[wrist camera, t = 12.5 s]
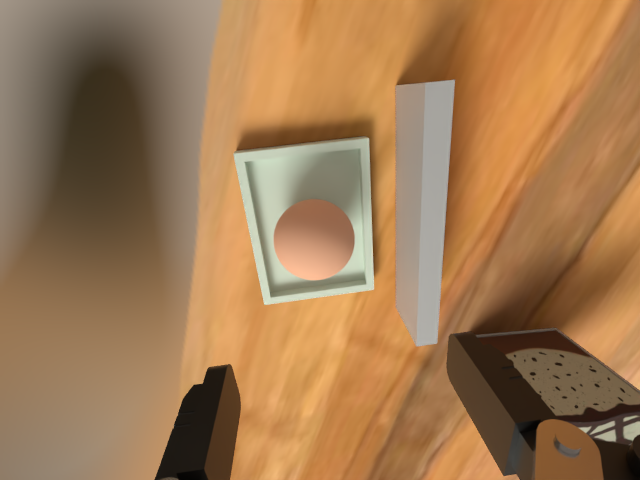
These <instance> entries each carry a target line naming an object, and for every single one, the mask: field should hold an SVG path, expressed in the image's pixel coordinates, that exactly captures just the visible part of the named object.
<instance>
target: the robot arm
mask: <svg viewBox="0 0 640 480" xmlns="http://www.w3.org/2000/svg"><path fill="white" fill-rule="evenodd" d="M447 373H448V376H449V379H450V382H451V384H452V385H453V387H454V389H455V391H456V393H457V394H458V396H459V398H460V400H461V401H462V403H463V405H464V407H465V408H466V410H467V412H468V414H469V416H470V417H471V419H472V421H473V423H474V424H475V426H476V428H477V430H478V431H479V433H480V435H481V437H482V439H483V440H484V442H485V444H486V446H487V447H488V449H489V451H490V453H491V455H492V456H493V458H494V460H495V462H496V463H497V465H498V467H499V469H500V470H501V472H502V474H503V476H507V475H513V474H517V476H518V477H519V479H520V480H640V434H639V435H637V436H636V437H635V438H634V440H633V442H632V444H631V445H626V444H620V443H614V442H607V441H601V440H596V439H592V438H590V437H589V436H588V435H587V434H586V433H585V432H584V431H582V430H581V429H579V428H578V427H576V426H574V425H572V424H570V423H568V422H565V421H562V420H559V418H558V417H557V416H556V415H555V414H554V413H553V412H552V410H551V409H550V408H549V407H548V406H547V404H546V403H545V402H544V401H543V400H542V398H541V397H540V396H539V395H538V394H537V392H536V391H535V390H534V389H533V388H532V386H531V385H530V384H529V383H528V382H527V380H526V379H525V378H523V376H522V374H521V373H520V372H519V371H518V370H517V368H515V367H514V365H513V364H512V362H511V361H510V360H509V359H508V358H507V356H506V355H505V354H504V353H503V352H501V351H500V350H498V349H497V348H495V347H494V346H492V345H491V344H486V345H483V344H482V343H481V341H480V340H479V339H478V338H477V336H476V335H475V334H474V333H473V332H471V331H470V332H463V333H455V334H450V336H449V341H448V353H447ZM240 410H241V402H240V394H239V390H238V387H237V383H236V380H235V376H234V372H233V369H232V366H231V365H230V364H228V365H221V366H214V367H209V368H208V369H207V372H206V375H205V378H204V382H203V384H197V385H193V387H192V388H191V389H190V390H189V392H188V393H187V394H186V396H185V397H184V398H183V401H182V404H181V406H180V409H179V412H178V416H177V418H176V421H175V424H174V429H172V432H171V435H170V438H169V441H168V444H167V447H166V449H165V452H164V455H163V458H162V461H161V464H160V466H159V469H158V472H157V475H156V477H155V480H230V476H231V469H232V463H233V456H234V450H235V443H236V437H237V430H238V424H239V417H240Z"/></svg>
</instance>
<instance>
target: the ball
mask: <svg viewBox="0 0 640 480" xmlns="http://www.w3.org/2000/svg"><path fill="white" fill-rule="evenodd" d="M354 245H355V235H354V230H353V226H352V224H351V221H350V220H349V218H348V216H347V215H346V214H345V213H344V211H342V210H341V209H340V208H339V207H338V206H336V205H335V204H333V203H331V202H328V201H325V200H321V199H308V200H303V201H300V202H298V203H296V204H294V205H292V206H291V207H289V208H288V209H287V210H286V211H285V212H284V213H283V214H282V216H281V217H280V218H279V220H278V222H277V224H276V227H275V231H274V249H275V252H276V255H277V257H278V259H279V261H280V263H281V264H282V265H283V266H284V267H285V268H286V269H287V270H288V271H289V272H290V273H292V274H293V275H295V276H297V277H299V278H302V279H306V280H322V279H326V278H329V277H331V276H333V275H335V274H337V273H338V272H339V271H341V270H342V269H343V268H344V267H345V265H346V264H347V263H348V261H349V260H350V258H351V256H352V253H353V250H354Z"/></svg>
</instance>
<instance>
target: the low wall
mask: <svg viewBox="0 0 640 480" xmlns="http://www.w3.org/2000/svg"><path fill="white" fill-rule="evenodd" d="M454 86H455V80H446V81H435V82H423V83H413V84H404V85H396V308H397V310H398V312H399V314H400V316H401V318H402V320H403V322H404V324H405V326H406V327H407V329H408V331H409V333H410V335H411V337H412V339H413V341H414V343H415V345H416V346H423V345H430V344H436V343H437V337H438V323H439V308H440V293H441V278H442V263H443V249H444V234H445V219H446V204H447V190H448V175H449V160H450V145H451V130H452V116H453V101H454Z"/></svg>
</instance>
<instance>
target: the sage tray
mask: <svg viewBox="0 0 640 480" xmlns="http://www.w3.org/2000/svg"><path fill="white" fill-rule="evenodd" d="M234 159H235V164H236V169H237V174H238V179H239V184H240V188H241V193H242V198H243V203H244V208H245V213H246V218H247V223H248V227H249V232H250V237H251V242H252V247H253V252H254V257H255V262H256V266H257V271H258V276H259V281H260V286H261V291H262V296H263V301H264V305H268V304H275V303H282V302H289V301H296V300H304V299H311V298H318V297H325V296H332V295H339V294H346V293H354V292H361V291H368V290H374V271H373V242H372V212H371V182H370V152H369V138H368V137H366V136H361V137H352V138H343V139H335V140H326V141H317V142H309V143H300V144H291V145H283V146H274V147H265V148H257V149H248V150H239V151H235V153H234ZM308 199H321V200H325V201H328V202H331V203H333V204H335V205H336V206H338V207H339V208H340V209H341V210H342V211H344V213H345V214H346V215H347V216H348V218H349V220H350V221H351V224H352V226H353V230H354V235H355V245H354V250H353V253H352V256H351V258H350V260H349V261H348V263H347V264H346V265H345V267H344V268H343V269H342V270H341V271H339V272H338V273H337V274H335V275H333V276H331V277H329V278H326V279H322V280H306V279H302V278H299V277H297V276H295V275H293V274H292V273H290V272H289V271H288V270H287V269H286V268H285V267H284V266H283V265H282V264H281V263H280V261H279V259H278V257H277V255H276V252H275V249H274V231H275V227H276V224H277V222H278V220H279V218H280V217H281V216H282V214H283V213H284V212H285V211H286V210H287V209H288V208H289V207H291V206H292V205H294V204H296V203H298V202H300V201H303V200H308Z"/></svg>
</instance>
